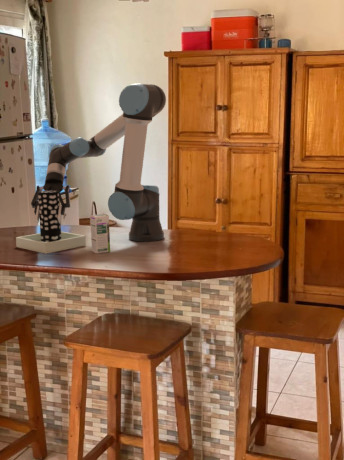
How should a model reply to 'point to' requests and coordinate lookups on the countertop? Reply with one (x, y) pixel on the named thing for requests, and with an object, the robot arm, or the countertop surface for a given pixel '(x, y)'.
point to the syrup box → (100, 233)
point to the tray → (37, 245)
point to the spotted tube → (49, 215)
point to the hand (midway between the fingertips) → (48, 220)
